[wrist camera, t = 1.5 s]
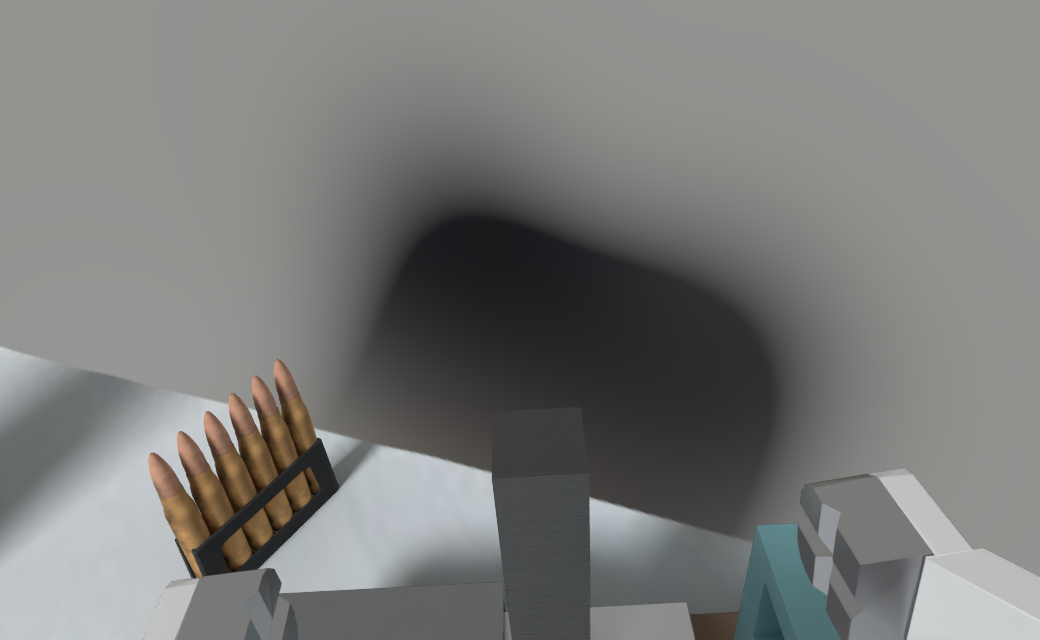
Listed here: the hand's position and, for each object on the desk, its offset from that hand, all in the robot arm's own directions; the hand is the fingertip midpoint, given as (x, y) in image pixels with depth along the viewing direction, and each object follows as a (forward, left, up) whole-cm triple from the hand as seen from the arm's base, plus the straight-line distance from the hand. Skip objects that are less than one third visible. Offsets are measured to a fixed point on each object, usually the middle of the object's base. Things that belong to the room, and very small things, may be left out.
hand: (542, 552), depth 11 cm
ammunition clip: (-18, +24, -29) cm, 42 cm away
